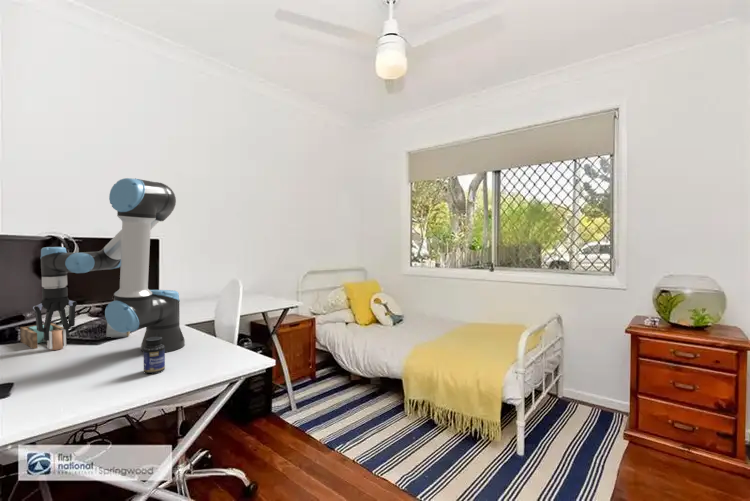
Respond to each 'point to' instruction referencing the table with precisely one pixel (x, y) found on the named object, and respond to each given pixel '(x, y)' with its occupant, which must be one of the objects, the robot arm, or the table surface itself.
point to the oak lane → (32, 335)
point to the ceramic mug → (115, 333)
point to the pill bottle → (154, 355)
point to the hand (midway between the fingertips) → (56, 346)
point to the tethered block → (56, 337)
